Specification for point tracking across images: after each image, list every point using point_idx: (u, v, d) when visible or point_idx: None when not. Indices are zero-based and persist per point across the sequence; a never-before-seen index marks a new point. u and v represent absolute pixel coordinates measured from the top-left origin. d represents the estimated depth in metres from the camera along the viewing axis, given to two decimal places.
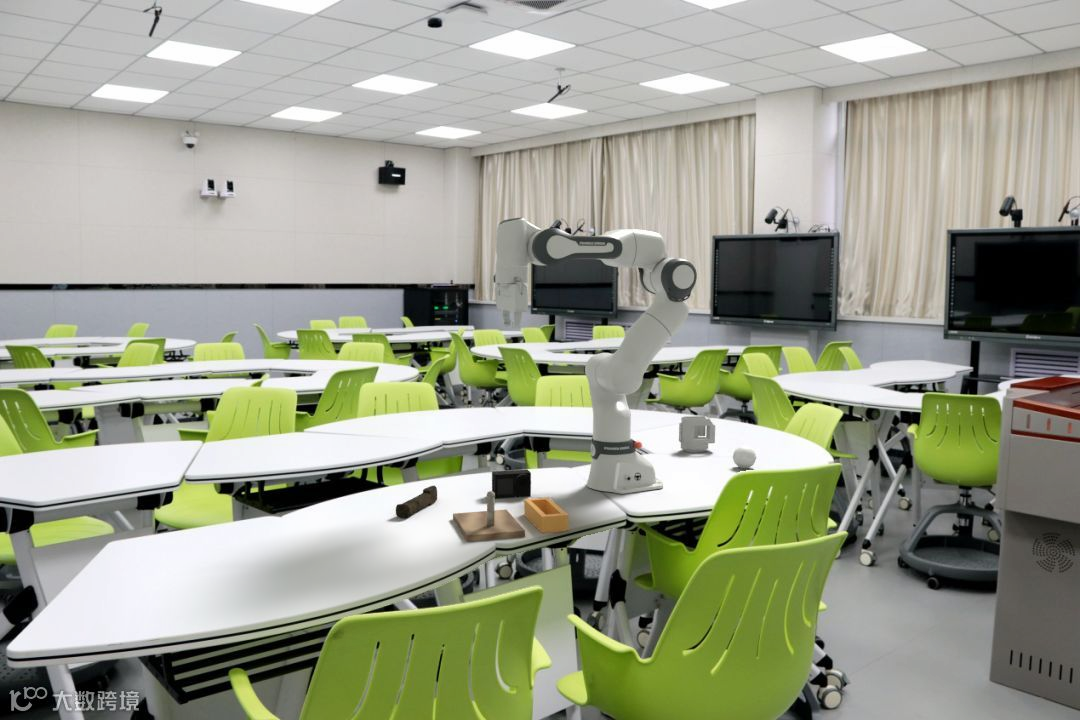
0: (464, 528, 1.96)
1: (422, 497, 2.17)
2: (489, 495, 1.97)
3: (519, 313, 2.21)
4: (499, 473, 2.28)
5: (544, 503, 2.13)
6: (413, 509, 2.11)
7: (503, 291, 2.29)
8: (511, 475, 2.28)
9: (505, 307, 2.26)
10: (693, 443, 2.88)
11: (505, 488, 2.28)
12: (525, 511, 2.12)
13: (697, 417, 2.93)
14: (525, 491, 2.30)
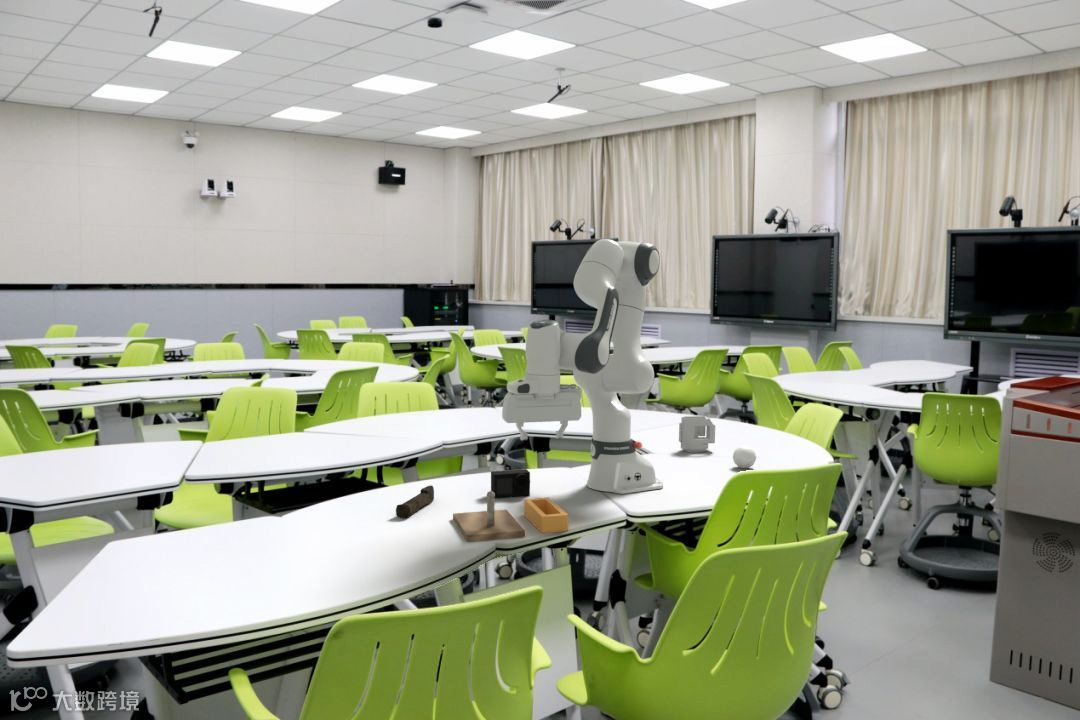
0: (464, 528, 1.96)
1: (421, 497, 2.17)
2: (489, 495, 1.97)
3: None
4: (498, 473, 2.28)
5: (544, 503, 2.13)
6: (413, 509, 2.11)
7: (532, 401, 2.04)
8: (510, 475, 2.28)
9: (545, 418, 2.05)
10: (693, 443, 2.88)
11: (504, 488, 2.28)
12: (525, 511, 2.12)
13: (697, 417, 2.93)
14: (524, 491, 2.30)
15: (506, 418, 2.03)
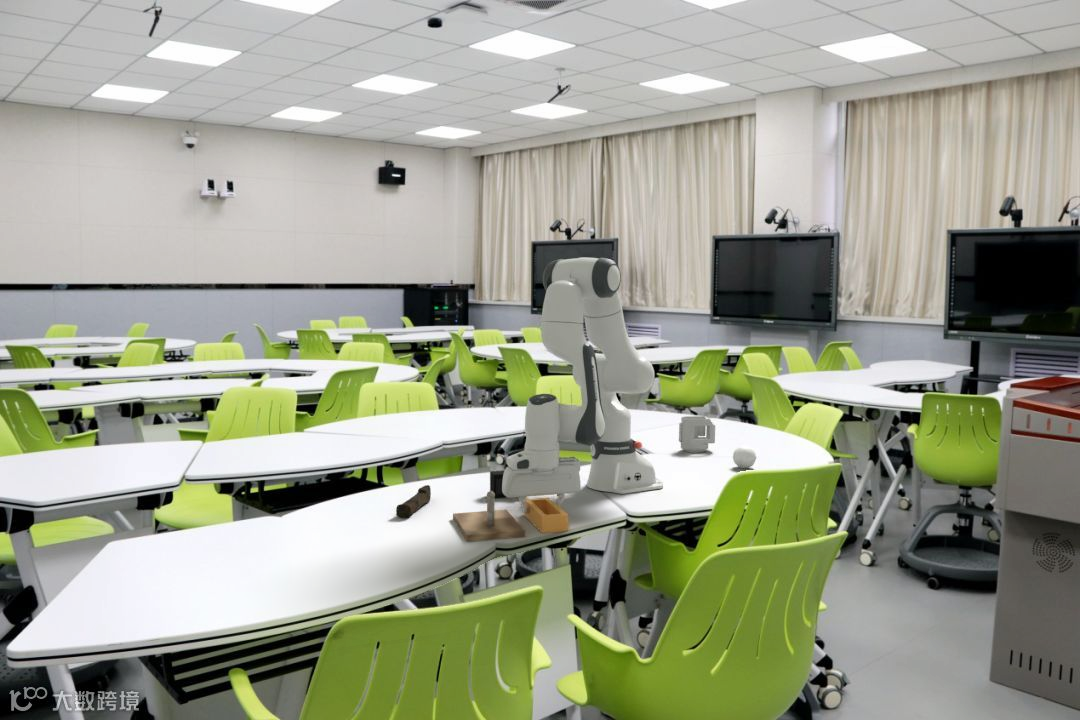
0: (464, 528, 1.96)
1: (419, 497, 2.17)
2: (489, 495, 1.97)
3: None
4: (497, 473, 2.28)
5: (544, 503, 2.13)
6: (413, 509, 2.12)
7: (532, 476, 2.06)
8: None
9: (544, 492, 2.08)
10: (693, 443, 2.88)
11: None
12: None
13: (697, 417, 2.93)
14: None
15: (506, 493, 2.05)
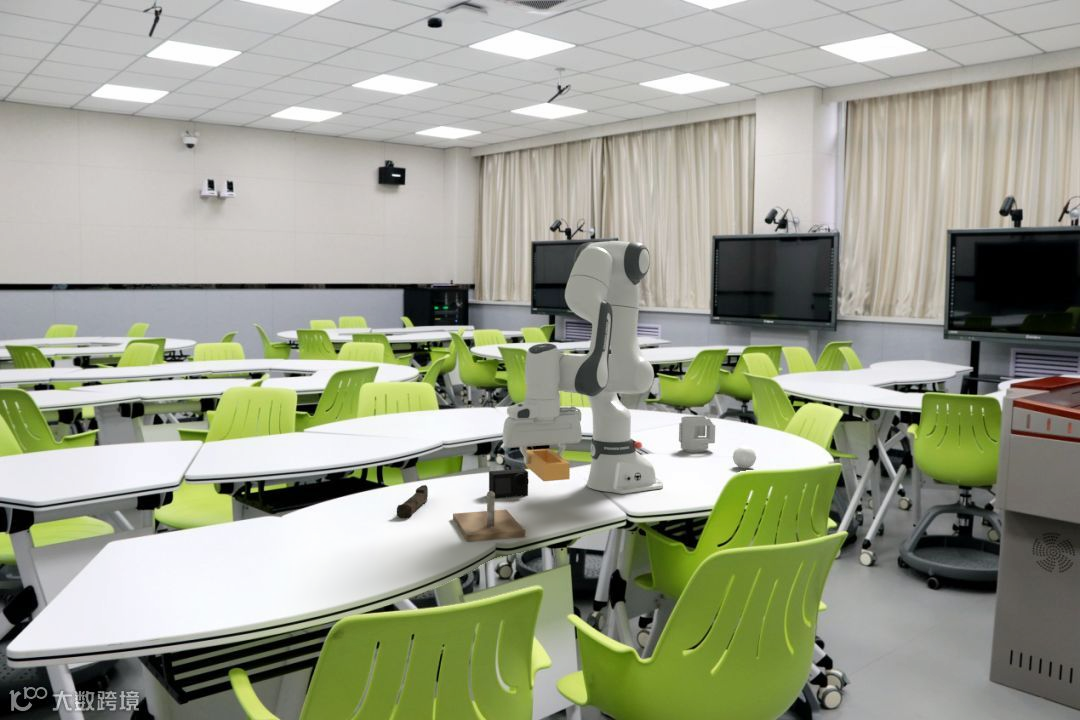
0: (464, 528, 1.96)
1: (418, 497, 2.17)
2: (489, 495, 1.97)
3: None
4: (497, 473, 2.29)
5: (545, 454, 2.12)
6: (413, 509, 2.12)
7: (533, 426, 2.05)
8: (509, 474, 2.29)
9: (545, 442, 2.06)
10: (693, 443, 2.88)
11: (503, 488, 2.29)
12: None
13: (697, 417, 2.93)
14: (523, 490, 2.31)
15: (507, 443, 2.04)
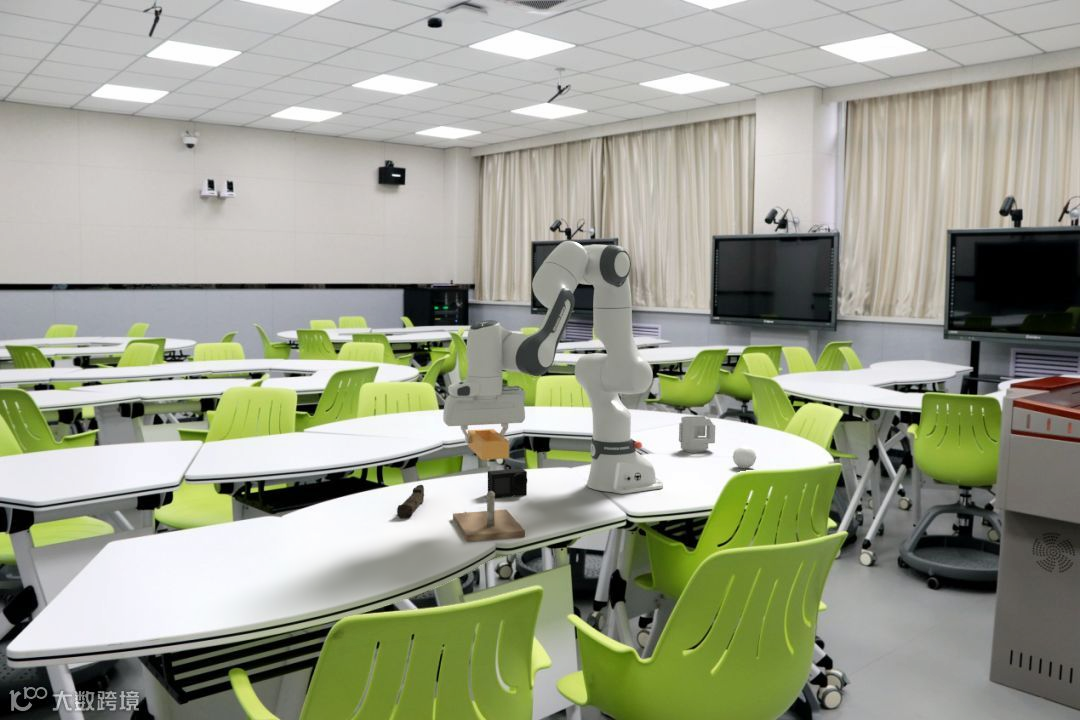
0: (464, 528, 1.96)
1: (416, 496, 2.17)
2: (489, 495, 1.97)
3: None
4: (496, 473, 2.29)
5: (488, 434, 2.07)
6: (413, 509, 2.12)
7: (474, 404, 2.00)
8: (508, 474, 2.29)
9: (487, 421, 2.01)
10: (693, 443, 2.88)
11: (502, 488, 2.29)
12: None
13: (697, 417, 2.93)
14: (521, 490, 2.31)
15: (446, 421, 1.98)
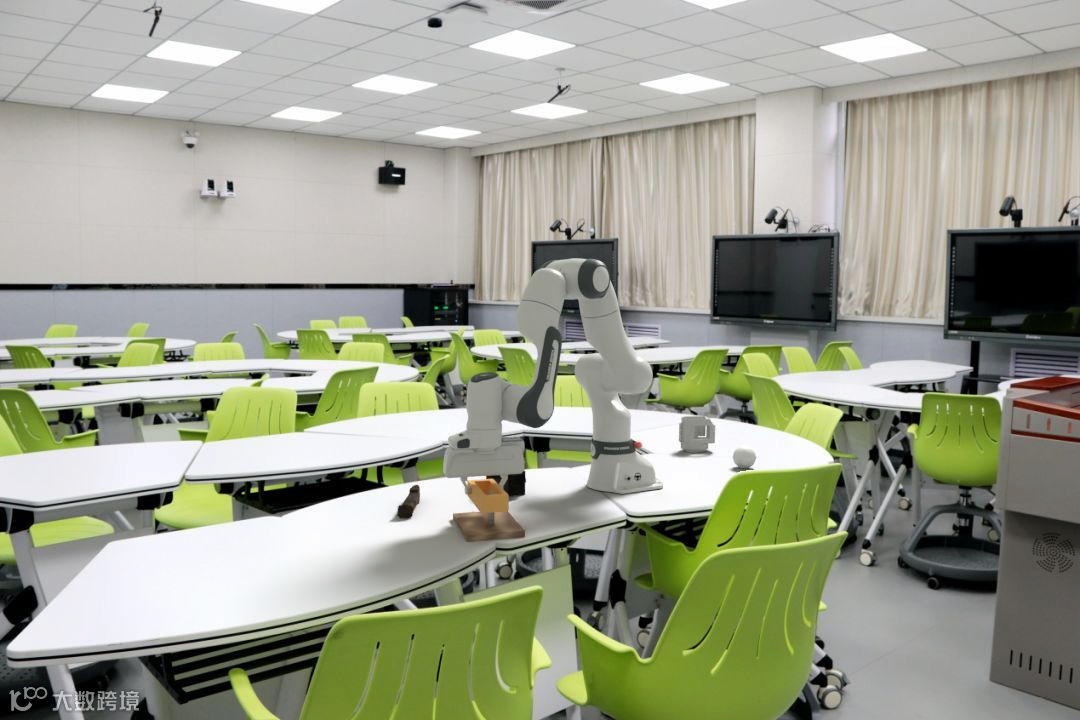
0: (464, 528, 1.96)
1: (414, 496, 2.17)
2: None
3: None
4: None
5: (488, 484, 2.08)
6: (413, 509, 2.12)
7: (473, 456, 2.01)
8: None
9: (486, 472, 2.03)
10: (693, 443, 2.88)
11: None
12: None
13: (697, 417, 2.93)
14: (520, 490, 2.31)
15: (446, 473, 2.00)
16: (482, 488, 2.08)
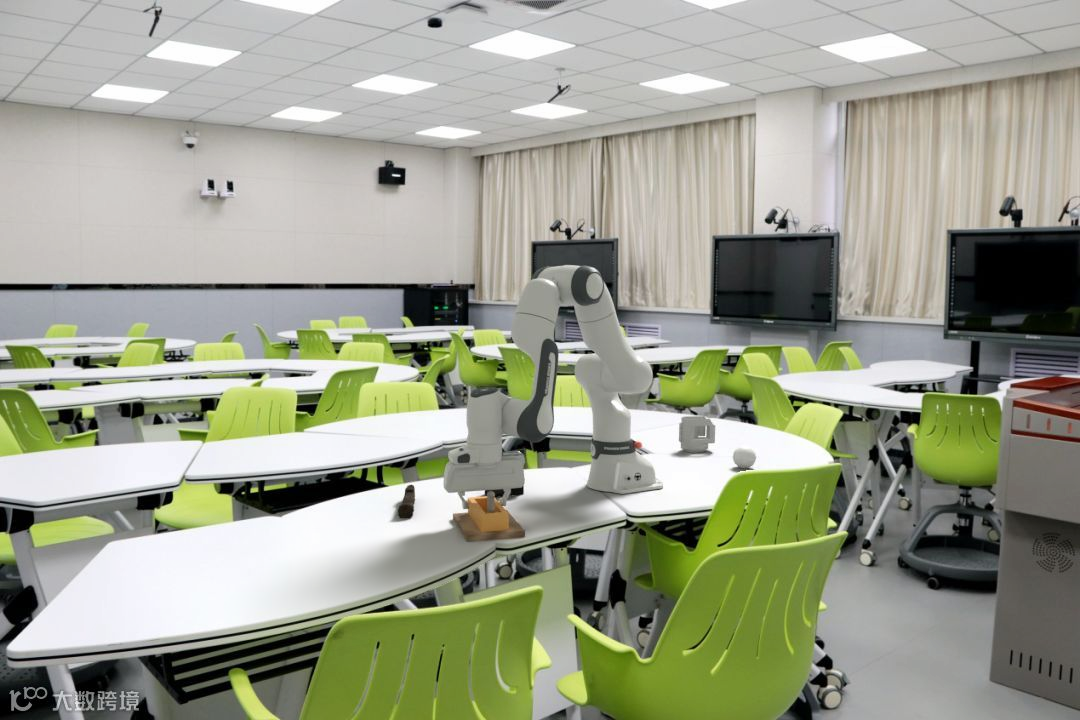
0: (464, 528, 1.96)
1: (412, 496, 2.18)
2: (489, 495, 1.97)
3: None
4: None
5: None
6: None
7: (474, 470, 2.02)
8: None
9: (486, 487, 2.03)
10: (693, 443, 2.88)
11: None
12: (468, 510, 2.08)
13: (697, 417, 2.93)
14: (519, 489, 2.32)
15: (446, 488, 2.00)
16: (482, 505, 2.08)
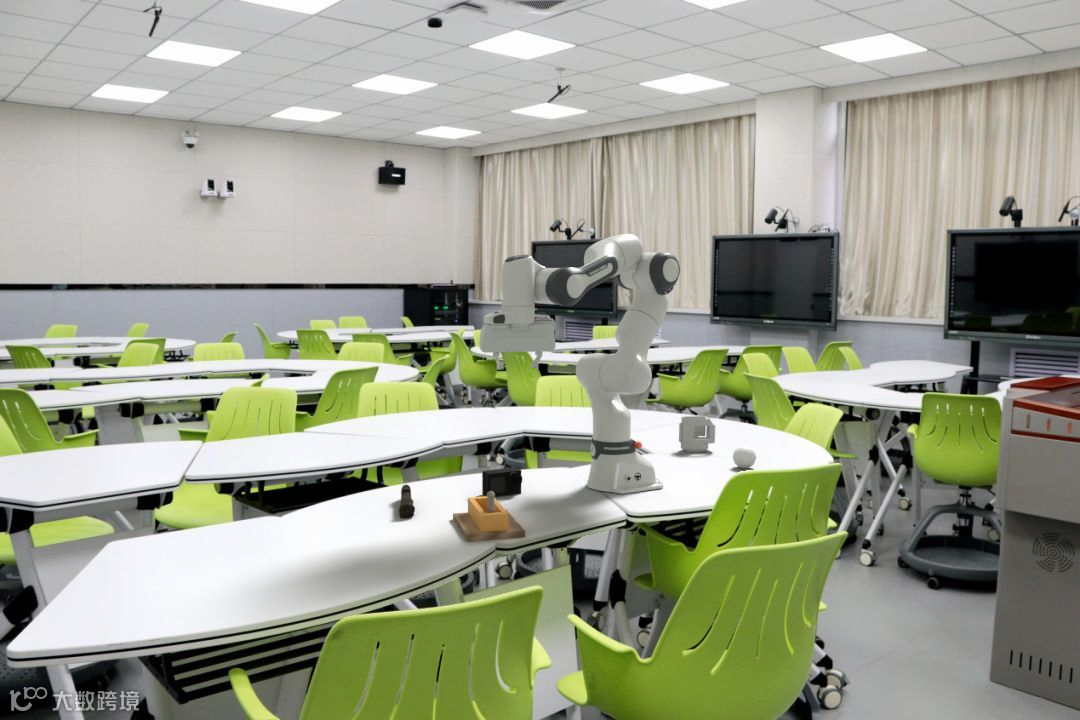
0: (464, 528, 1.96)
1: (409, 496, 2.18)
2: (489, 495, 1.97)
3: None
4: (491, 472, 2.29)
5: None
6: None
7: (508, 332, 2.14)
8: (503, 473, 2.30)
9: (520, 348, 2.15)
10: (693, 443, 2.88)
11: (497, 487, 2.29)
12: (468, 510, 2.08)
13: (697, 417, 2.93)
14: (516, 489, 2.32)
15: (483, 348, 2.12)
16: (482, 505, 2.08)
